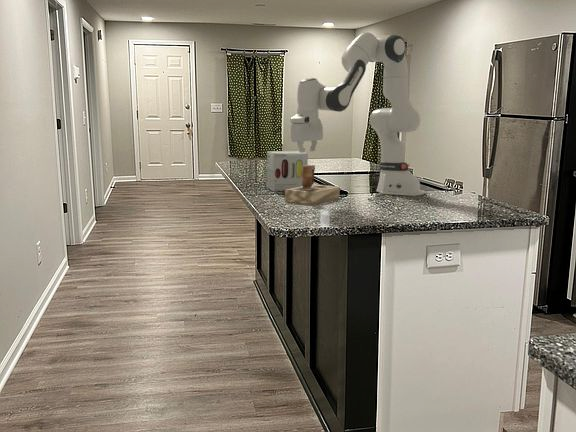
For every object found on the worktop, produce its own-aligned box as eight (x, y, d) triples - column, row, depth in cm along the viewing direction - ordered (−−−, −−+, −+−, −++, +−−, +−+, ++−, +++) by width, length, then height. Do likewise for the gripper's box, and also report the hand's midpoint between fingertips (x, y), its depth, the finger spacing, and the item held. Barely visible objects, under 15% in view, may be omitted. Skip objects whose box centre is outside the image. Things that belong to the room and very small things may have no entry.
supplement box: (272, 191, 276) (273, 153, 272) (266, 187, 288) (266, 151, 285) (307, 190, 280) (308, 152, 277) (300, 186, 293) (300, 150, 290)
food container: (293, 182, 309) (293, 163, 307) (304, 181, 311) (304, 163, 309) (304, 185, 298) (304, 165, 296) (314, 184, 300) (315, 165, 298)
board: (339, 197, 258) (339, 186, 257) (313, 204, 240) (313, 192, 239) (312, 195, 266) (312, 183, 265) (285, 201, 248) (285, 189, 247)
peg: (313, 198, 250) (314, 165, 247) (308, 199, 246) (308, 166, 244) (305, 197, 252) (305, 165, 249) (300, 198, 248) (300, 166, 246)
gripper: (314, 117, 253) (313, 150, 255) (287, 118, 236) (287, 153, 239) (326, 118, 249) (326, 150, 252) (301, 118, 233) (300, 153, 235)
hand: (307, 151), depth 245 cm, fingers open, 7 cm apart
